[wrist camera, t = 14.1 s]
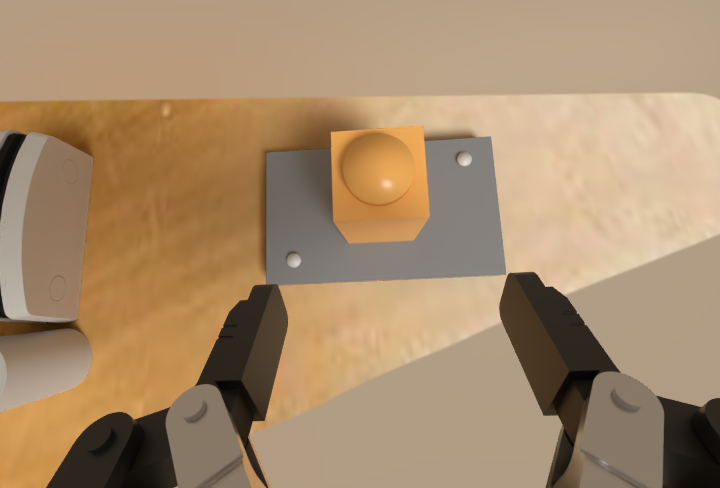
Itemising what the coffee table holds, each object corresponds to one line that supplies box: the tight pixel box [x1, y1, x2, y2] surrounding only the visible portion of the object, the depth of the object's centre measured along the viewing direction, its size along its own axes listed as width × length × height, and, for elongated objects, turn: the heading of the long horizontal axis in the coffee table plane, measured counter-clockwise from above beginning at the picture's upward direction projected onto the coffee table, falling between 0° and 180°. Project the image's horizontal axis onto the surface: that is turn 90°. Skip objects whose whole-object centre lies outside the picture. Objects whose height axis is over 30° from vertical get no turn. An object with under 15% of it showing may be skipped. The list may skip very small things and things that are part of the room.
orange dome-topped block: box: [331, 126, 430, 244], centre depth 22 cm, size 6×6×10 cm
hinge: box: [0, 130, 94, 324], centre depth 27 cm, size 17×5×10 cm, turn 2°
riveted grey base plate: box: [266, 137, 506, 285], centre depth 25 cm, size 20×12×7 cm, turn 92°
